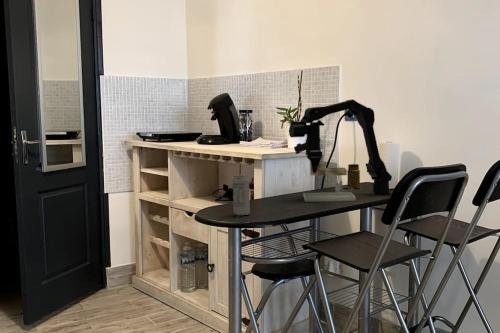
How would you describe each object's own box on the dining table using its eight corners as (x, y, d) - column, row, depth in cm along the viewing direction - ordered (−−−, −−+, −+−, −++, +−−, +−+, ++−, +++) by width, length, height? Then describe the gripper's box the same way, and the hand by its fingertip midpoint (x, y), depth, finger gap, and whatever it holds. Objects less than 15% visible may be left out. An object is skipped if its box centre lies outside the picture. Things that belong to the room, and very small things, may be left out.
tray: (350, 196, 224) (350, 192, 224) (355, 201, 210) (355, 196, 210) (303, 197, 225) (303, 193, 225) (304, 202, 211) (304, 197, 211)
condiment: (363, 187, 251) (363, 164, 250) (353, 189, 245) (353, 165, 244) (351, 187, 256) (350, 163, 255) (341, 188, 250) (341, 164, 249)
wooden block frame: (344, 173, 221) (344, 161, 220) (346, 175, 212) (346, 163, 211) (310, 173, 222) (309, 162, 221) (311, 176, 213) (311, 164, 212)
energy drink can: (253, 214, 185) (252, 174, 184) (242, 217, 181) (240, 176, 180) (241, 213, 189) (240, 173, 188) (230, 215, 185) (228, 175, 184)
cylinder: (341, 193, 233) (341, 180, 232) (342, 194, 230) (342, 181, 229) (335, 193, 233) (335, 181, 232) (335, 194, 230) (335, 181, 229)
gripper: (294, 136, 226) (295, 171, 227) (295, 137, 207) (296, 175, 208) (318, 135, 225) (319, 170, 226) (322, 136, 206) (322, 174, 208)
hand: (314, 172), depth 217 cm, fingers closed on wooden block frame, 4 cm apart
